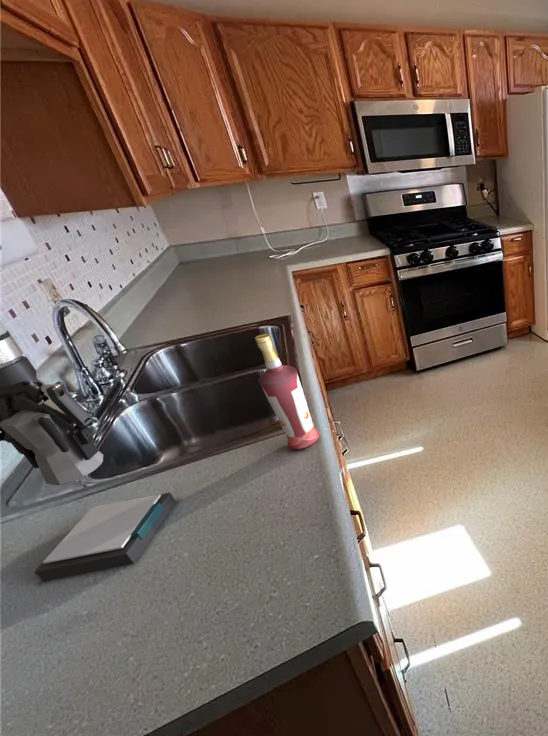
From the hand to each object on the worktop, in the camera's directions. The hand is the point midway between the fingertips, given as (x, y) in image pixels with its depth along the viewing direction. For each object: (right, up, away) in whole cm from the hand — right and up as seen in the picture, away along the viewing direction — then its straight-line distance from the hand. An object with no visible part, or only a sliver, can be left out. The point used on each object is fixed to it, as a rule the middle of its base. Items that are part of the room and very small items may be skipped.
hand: (67, 459), depth 85 cm
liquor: (+43, 0, +13) cm, 44 cm away
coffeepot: (+1, -3, +2) cm, 4 cm away
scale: (+18, -12, -8) cm, 23 cm away
